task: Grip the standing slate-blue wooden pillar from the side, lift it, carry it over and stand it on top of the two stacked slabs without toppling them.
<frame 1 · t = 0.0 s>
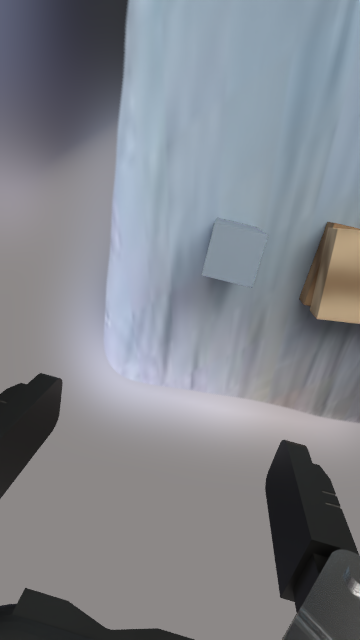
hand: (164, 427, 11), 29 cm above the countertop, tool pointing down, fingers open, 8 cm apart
tower base: (350, 270, 37), on the countertop
pillar: (231, 242, 37), on the countertop
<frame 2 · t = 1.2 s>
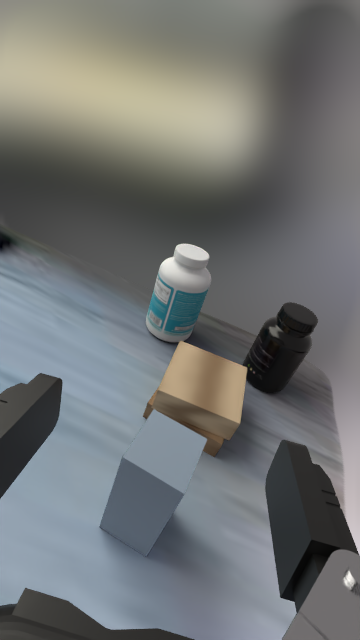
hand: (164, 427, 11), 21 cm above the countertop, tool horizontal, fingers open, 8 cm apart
tower base: (190, 411, 40), on the countertop, touching tower top
pill bottle: (167, 329, 51), on the countertop
pillar: (135, 515, 28), on the countertop
supplement bottle: (261, 377, 48), on the countertop
tower top: (198, 394, 38), point 2 cm above the countertop, touching tower base
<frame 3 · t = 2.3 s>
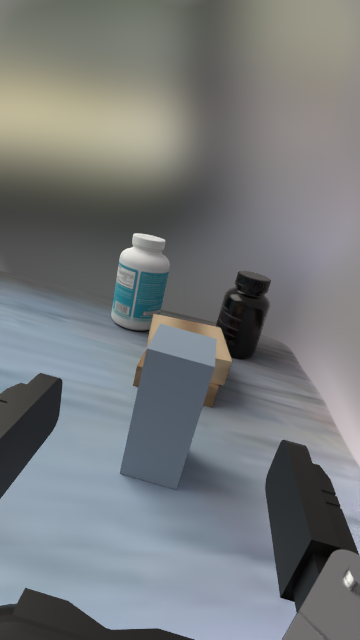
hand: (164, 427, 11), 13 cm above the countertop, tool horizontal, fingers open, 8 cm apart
tower base: (177, 379, 40), on the countertop, touching tower top
pill bottle: (133, 323, 51), on the countertop
pillar: (154, 459, 27), on the countertop
supplement bottle: (231, 349, 51), on the countertop
tower top: (182, 357, 39), point 2 cm above the countertop, touching tower base
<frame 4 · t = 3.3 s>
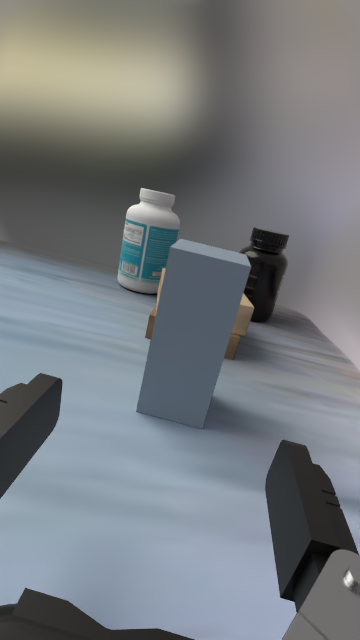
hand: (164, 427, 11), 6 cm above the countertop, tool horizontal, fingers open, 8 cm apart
tower base: (191, 336, 36), on the countertop, touching tower top
pill bottle: (141, 288, 48), on the countertop
pillar: (174, 400, 23), on the countertop
supplement bottle: (246, 314, 47), on the countertop
tower top: (197, 311, 35), point 2 cm above the countertop, touching tower base
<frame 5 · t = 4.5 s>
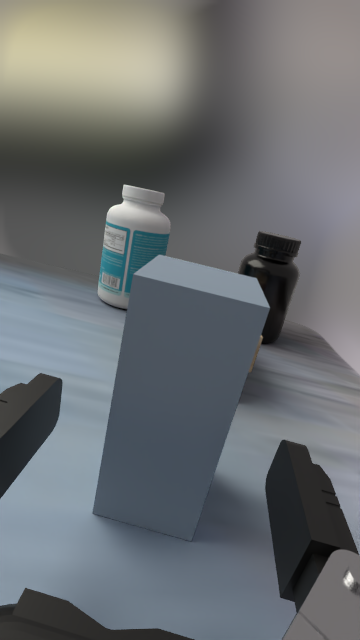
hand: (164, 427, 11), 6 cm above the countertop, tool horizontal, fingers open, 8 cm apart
pill bottle: (126, 302, 41), on the countertop
pillar: (152, 485, 16), on the countertop
supplement bottle: (249, 333, 40), on the countertop
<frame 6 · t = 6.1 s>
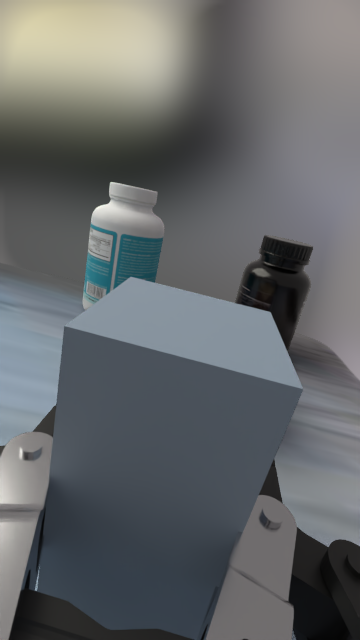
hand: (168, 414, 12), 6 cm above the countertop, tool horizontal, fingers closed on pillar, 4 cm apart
pill bottle: (115, 314, 37), on the countertop
pillar: (123, 591, 12), on the countertop, touching gripper
supplement bottle: (253, 350, 36), on the countertop
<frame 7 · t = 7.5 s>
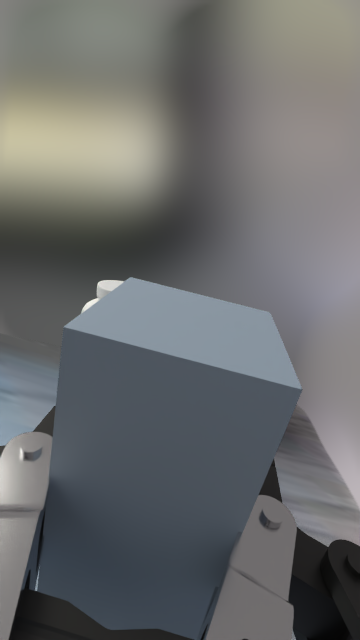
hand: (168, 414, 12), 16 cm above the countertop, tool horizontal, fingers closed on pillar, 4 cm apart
pill bottle: (104, 391, 40), on the countertop
pillar: (123, 591, 12), point 10 cm above the countertop, touching gripper
when the fingers open (13 cm above the countertop, at t = 10.4 s): pillar drops 1 cm, resting on tower top.
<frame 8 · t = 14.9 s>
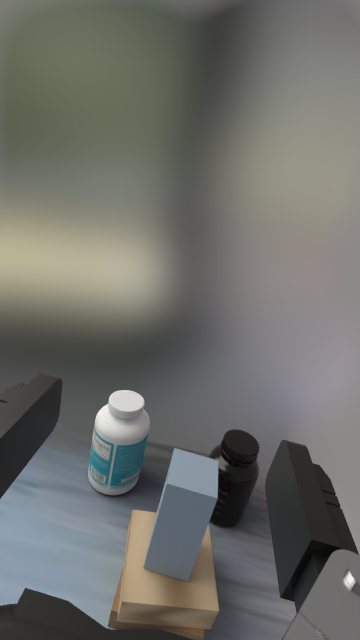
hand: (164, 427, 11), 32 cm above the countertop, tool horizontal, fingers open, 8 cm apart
tower base: (159, 589, 36), on the countertop
pill bottle: (112, 476, 48), on the countertop
pillar: (169, 552, 34), point 6 cm above the countertop, touching tower top
supplement bottle: (218, 507, 47), on the countertop
tower top: (165, 573, 35), point 3 cm above the countertop, touching pillar
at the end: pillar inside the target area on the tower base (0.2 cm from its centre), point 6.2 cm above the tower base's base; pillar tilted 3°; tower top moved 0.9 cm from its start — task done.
